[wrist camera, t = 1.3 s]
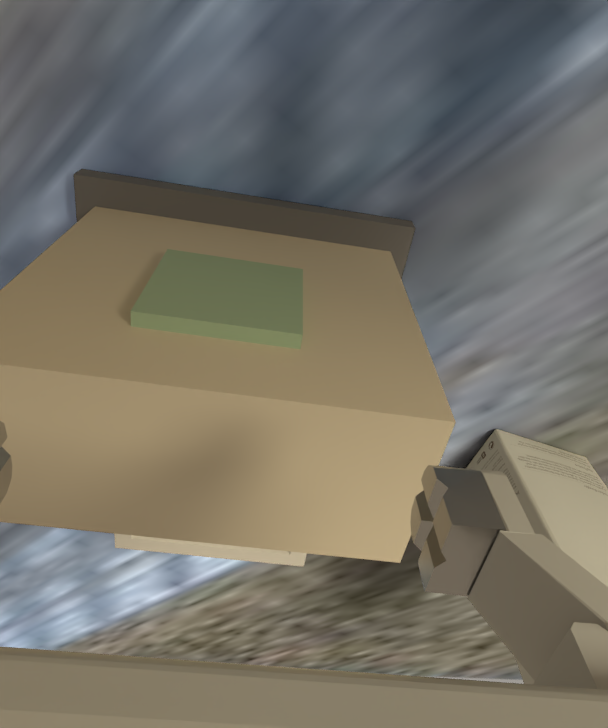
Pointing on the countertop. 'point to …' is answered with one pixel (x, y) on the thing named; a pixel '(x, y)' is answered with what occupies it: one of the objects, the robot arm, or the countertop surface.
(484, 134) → the countertop surface
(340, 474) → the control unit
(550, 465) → the skincare box
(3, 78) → the countertop surface
